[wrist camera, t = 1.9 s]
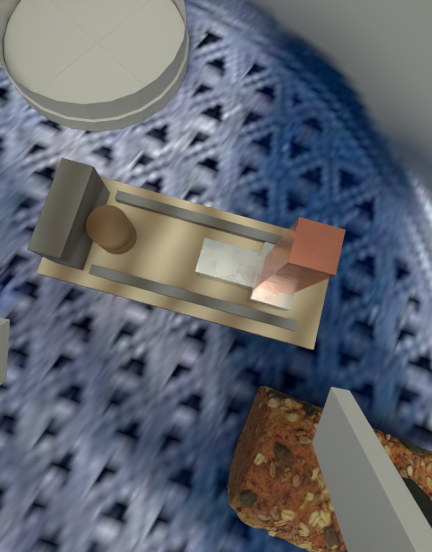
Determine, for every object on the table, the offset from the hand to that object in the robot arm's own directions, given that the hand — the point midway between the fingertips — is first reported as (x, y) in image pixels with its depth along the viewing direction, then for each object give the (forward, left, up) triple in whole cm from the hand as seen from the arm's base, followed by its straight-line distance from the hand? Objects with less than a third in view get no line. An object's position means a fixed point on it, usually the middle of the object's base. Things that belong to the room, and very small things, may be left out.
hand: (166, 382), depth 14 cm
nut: (-13, -5, -21) cm, 26 cm away
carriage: (-7, +8, -21) cm, 23 cm away
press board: (-10, +2, -23) cm, 25 cm away
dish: (-38, -5, -23) cm, 45 cm away
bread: (+13, +12, -23) cm, 29 cm away
